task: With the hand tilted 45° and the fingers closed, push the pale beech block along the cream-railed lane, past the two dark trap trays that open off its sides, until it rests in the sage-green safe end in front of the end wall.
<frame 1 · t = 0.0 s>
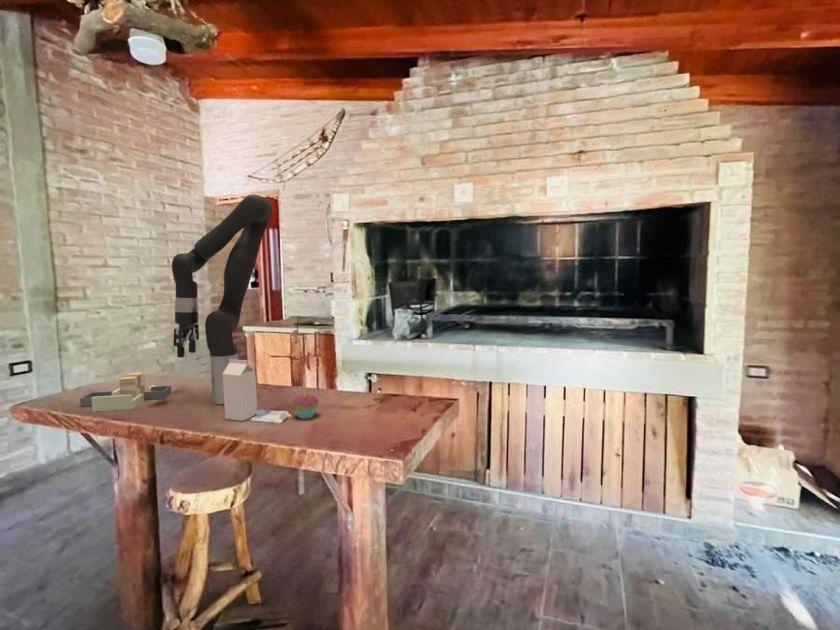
hand: (186, 354, 179), 17 cm above the table, tool pointing down, fingers open, 8 cm apart
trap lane: (127, 400, 183), on the table
milk carton: (241, 417, 163), on the table
beech block: (133, 396, 189), on the table
cupcake: (305, 417, 162), on the table
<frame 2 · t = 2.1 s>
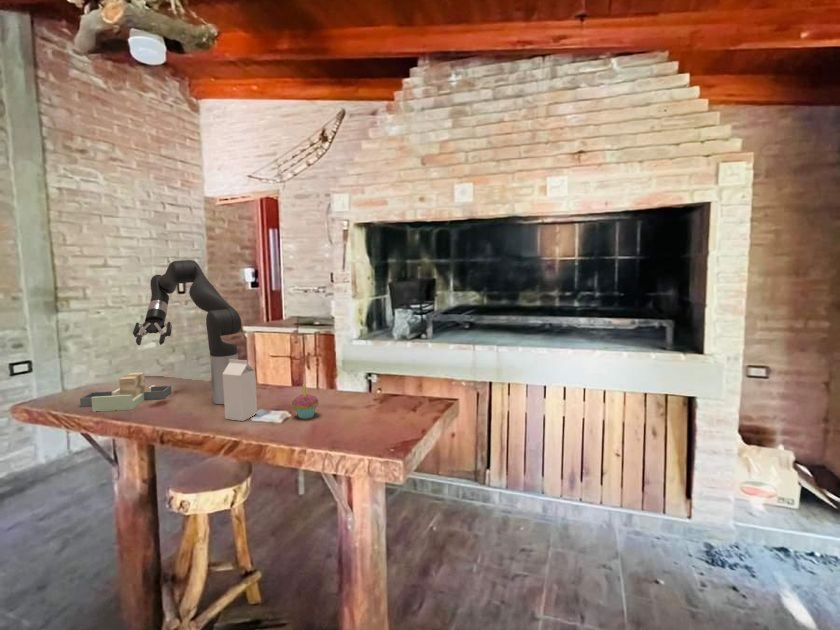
hand: (149, 343, 208), 16 cm above the table, tool tilted 45°, fingers open, 8 cm apart
nothing on the table moved.
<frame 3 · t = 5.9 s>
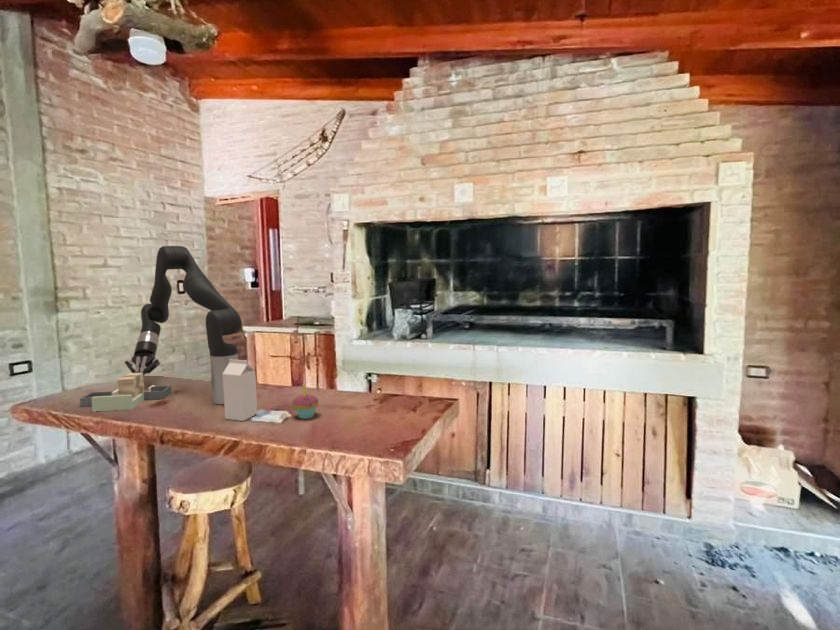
hand: (137, 382, 193), 4 cm above the table, tool tilted 45°, fingers closed
beech block: (132, 396, 188), on the table, touching gripper
everything else where it was.
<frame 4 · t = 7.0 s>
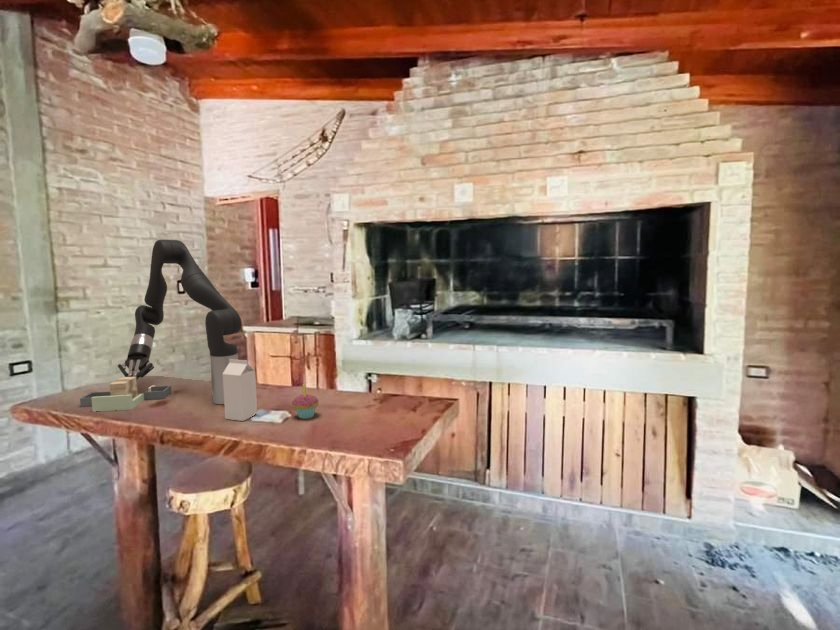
hand: (130, 386, 186), 4 cm above the table, tool tilted 45°, fingers closed
beech block: (125, 401, 181), on the table, touching gripper
everything else where it was.
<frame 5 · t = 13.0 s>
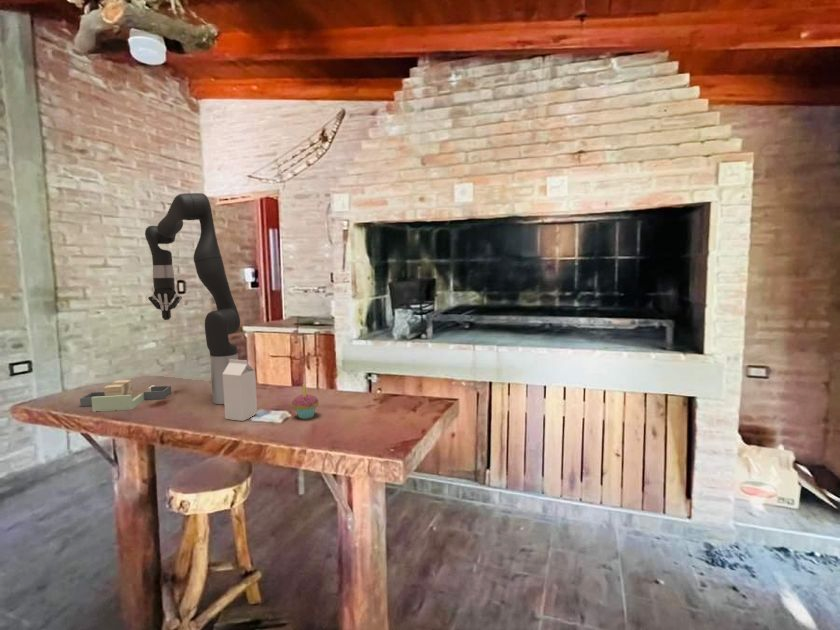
hand: (166, 319, 201), 27 cm above the table, tool pointing down, fingers closed
beech block: (120, 405, 177), on the table
everything else where it was.
at the end: beech block inside the target area (0.6 cm from its centre), on the table; beech block tilted 0°; beech block moved 11.6 cm from its start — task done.
